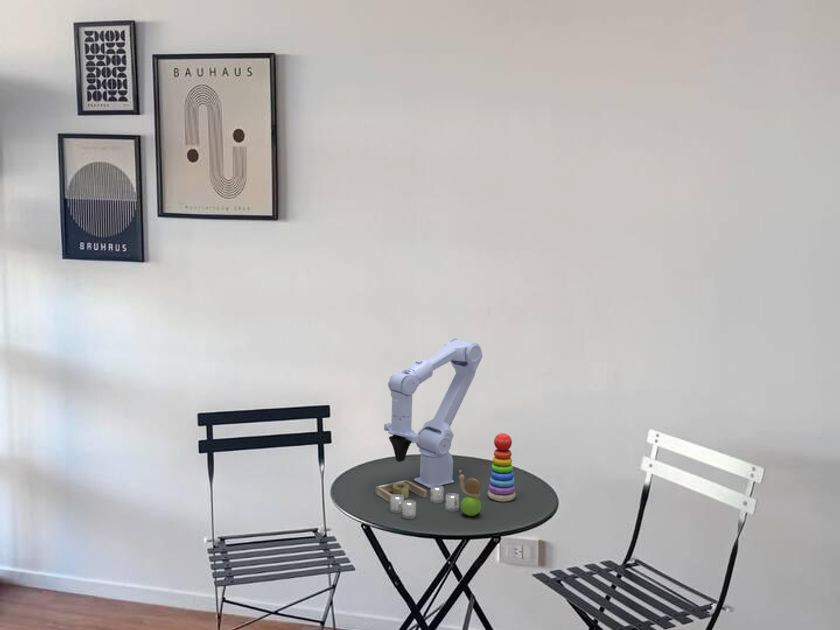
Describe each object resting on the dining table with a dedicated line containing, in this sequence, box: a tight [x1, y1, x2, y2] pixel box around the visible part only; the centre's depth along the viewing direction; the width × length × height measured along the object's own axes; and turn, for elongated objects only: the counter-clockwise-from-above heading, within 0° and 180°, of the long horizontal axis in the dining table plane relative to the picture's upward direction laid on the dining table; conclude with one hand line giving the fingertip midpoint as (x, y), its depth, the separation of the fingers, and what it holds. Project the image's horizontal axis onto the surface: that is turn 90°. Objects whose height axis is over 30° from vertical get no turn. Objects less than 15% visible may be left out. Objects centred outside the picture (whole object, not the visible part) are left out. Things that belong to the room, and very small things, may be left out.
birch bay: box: [374, 479, 428, 503], centre depth 229 cm, size 11×10×2 cm
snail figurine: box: [458, 469, 482, 517], centre depth 216 cm, size 5×6×12 cm
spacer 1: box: [389, 493, 405, 514], centre depth 218 cm, size 4×4×4 cm
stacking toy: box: [487, 432, 517, 502], centre depth 229 cm, size 8×8×19 cm
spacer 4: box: [445, 492, 460, 513], centre depth 221 cm, size 4×4×4 cm
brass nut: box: [392, 483, 410, 499], centre depth 229 cm, size 5×4×3 cm
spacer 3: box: [429, 485, 445, 504], centre depth 226 cm, size 4×4×4 cm
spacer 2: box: [401, 499, 417, 520], centre depth 215 cm, size 4×4×4 cm
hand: (400, 460), depth 231 cm, fingers closed
